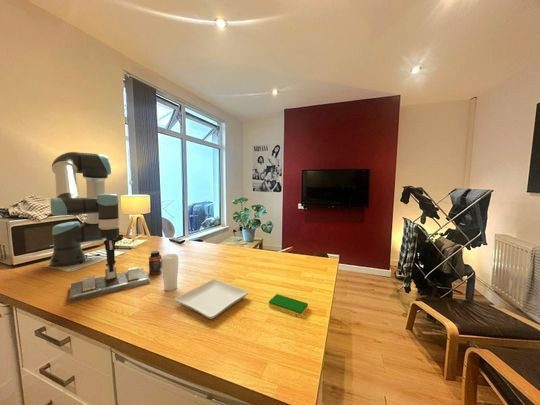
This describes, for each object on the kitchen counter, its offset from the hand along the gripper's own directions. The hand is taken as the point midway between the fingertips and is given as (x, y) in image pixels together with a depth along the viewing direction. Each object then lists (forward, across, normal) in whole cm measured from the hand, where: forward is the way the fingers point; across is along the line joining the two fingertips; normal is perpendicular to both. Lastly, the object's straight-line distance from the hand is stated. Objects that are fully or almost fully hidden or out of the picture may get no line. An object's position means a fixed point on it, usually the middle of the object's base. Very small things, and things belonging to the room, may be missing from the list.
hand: (111, 277), depth 99 cm
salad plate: (+4, +43, +30) cm, 52 cm away
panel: (+3, +1, 0) cm, 3 cm away
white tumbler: (+3, +21, +20) cm, 29 cm away
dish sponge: (+4, +65, +51) cm, 83 cm away
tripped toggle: (+1, -3, 0) cm, 3 cm away
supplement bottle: (+4, -2, +19) cm, 19 cm away
